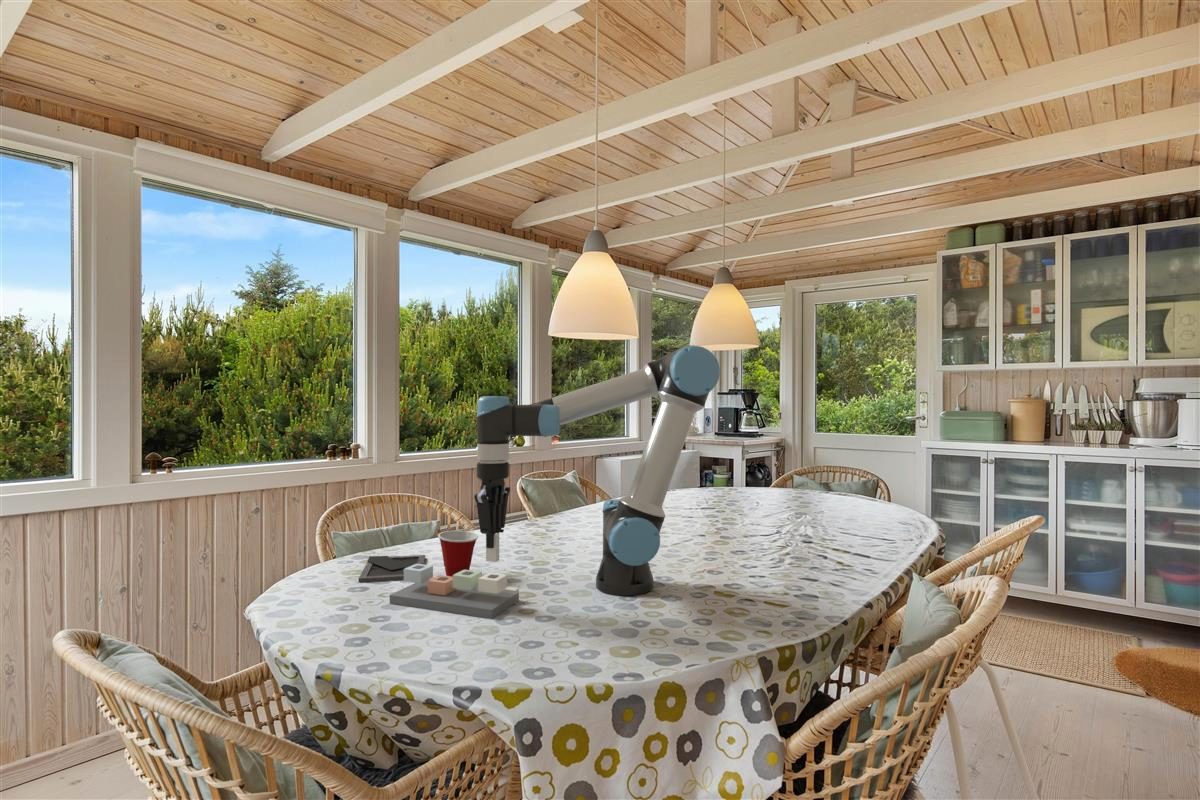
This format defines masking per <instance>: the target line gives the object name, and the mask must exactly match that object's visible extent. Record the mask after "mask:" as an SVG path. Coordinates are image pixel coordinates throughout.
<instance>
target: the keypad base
mask: <svg viewBox="0 0 1200 800" xmlns="http://www.w3.org/2000/svg"><path fill="white" fill-rule="evenodd" d="M435 577H436V576H435ZM435 577H434V576H433V578H435ZM433 578H431V579H433ZM429 580H430V579H429ZM519 598H520V588H519V587H512V586H507V588H505V589H504V590H502V591H501V592H499V593H497V594H495V593H488V592H480V591H478V586H477V587H476V588H474V589H472V590H465V589H458V588H457V590H455V591H453V592H451V593H449V594H447V595H446V596H445V595H437V594H430V593H428V580H427V581H425V582H423V583H414V582H413V583H412V584H410V585H408V586H406V587H403V588H402V589H398V590H397V591H395V592H393V593H391V594H389V604H391V603H393V605H398V604H399V605H400V606H404V605H406V606H405V607H411V606H413V607H412V608H418V607H420V608H419V609H424V608H425V609H426V610H431V609H432V610H431V611H437V610H438V611H439V612H444V613H452V614H458V615H464V616H470V617H471V616H473V617H479V618H484V619H485V618H486V619H491V620H492V619H494V618H496V617H497V616H498V615H500V614H501V613H503V612H504V611H506V610H507V609H508V608H510V607H511V606H512V605H514V604H516V603H517V602H518V600H520V599H519ZM515 602H516V603H515ZM502 611H503V612H502ZM499 613H500V614H499Z"/></svg>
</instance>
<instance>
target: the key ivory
mask: <svg viewBox="0 0 1200 800" xmlns="http://www.w3.org/2000/svg"><path fill="white" fill-rule="evenodd" d="M507 587H508V574H503V573H495V572H487V573H486V574H483V575H482V577H480V578H478V591H480V592H488V593H495V594H497V593H499V592H501V591H502V590H504V589H505V588H507Z"/></svg>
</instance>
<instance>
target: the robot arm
mask: <svg viewBox="0 0 1200 800" xmlns="http://www.w3.org/2000/svg"><path fill="white" fill-rule="evenodd" d="M720 367H721V366H720V363H719V361H718V359H717V357H716V356H715V354H714V353H713V352H711V351H710V350H709V349H708V348H705V347H703V346H699V345H692V344H691V345H686V346H683V347H680V348H677V349H675V350H673V351H671V352H669V353H668V354H666V355H664V356H662V357H660V358H657V359H655V360H653V361H649V362H647V363H645V364H644V366H643V368H641V369H638V370H635V371H630V372H629V373H625V374H622V375H619V376H615V377H613V378H609V379H607V380H602V381H600V382H598V383H594V384H591V385H588V386H585V387H581V388H578V389H574V390H572V391H569V392H566V393H563V394H560V395H557V396H553V397H551V398H547V399H544V400H541V401H538V402H534V403H531V404H513V403H511V402H510V398H509V397H508V396H501V395H500V396H499V395H497V396H496V395H491V396H490V395H483V396H480V397H479V398H478V399H477V408H476V409H477V411H476V413H477V414H476V443H477V445H476V460H477V461H478V462H477V463H476V477H477V478H478V479H480V480H481V484H480V492H479V493H475V494H474V496H473V498H474V501H475V503H476V510H477V515H478V516H477V517H478V525H479V531H480V533H481V534H483V535H485V561H486V562H491V563H493V562H494V563H497V562H499V561H500V533H504V531H505V529H504V528H506V527H505V526H506V518H507V517H506V516H507V512H508V511H507V509H508V501H509V495H510V492H511V488H510V487H509V486H505V485H506V482H505V479H507V478H509V476H510V463H509V462H508V460H510V437H544V438H546V437H554V436H555V437H556V436H558V435H559V434H560V426H563V425H567V424H570V423H573V422H577V421H579V420H581V419H585V418H588V417H591V416H595V415H598V414H600V413H604V412H606V411H609V410H614V409H617V408H619V407H622V406H625V405H628V404H631V403H635V402H638V401H641V400H644V399H647V398H650V397H653V398H654V399H660V404H659V407H658V409H657V412H656V415H655V418H654V421H653V424H652V426H651V429H650V431H649V435H648V438H647V441H646V443H645V446H644V449H643V452H642V455H641V458H640V460H639V463H638V465H637V469H636V471H635V474H634V477H633V480H632V483H631V486H630V488H629V491H628V494H626V495H624V496H621V498H619V499H618V498H617V499H606V500H605V501H604V502H603V506H602V509H601V511H602V515H603V516H602V517H603V518H602V520H603V521H602V559H601V561H600V565H599V568H598V570H597V573H596V577H595V587H596V589H597V590H598V591H600V592H602V593H604V594H609V595H614V596H615V595H616V596H637V595H638V594H639V595H644V594H646V592H647V593H649V592H651V591H652V590H653V589H654V577H653V573H652V570H651V569H652V568H651V567H650V563H649V562H650V561H652V560H653V559H654V557H656V555H657V554H658V551H659V549H660V546H661V535H660V533H661V530H662V527H663V524H664V521H665V518H666V514H665V511H664V509H663V505H664V501H665V498H666V496H667V494H668V490H669V487H670V484H671V482H672V479H673V477H674V473H675V471H676V468H677V465H678V462H679V459H680V457H681V453H682V451H683V449H684V448H683V447H684V445H685V442H686V439H687V436H688V433H689V431H690V429H691V426H692V423H693V420H694V417H695V414H696V413H697V412H699V411H701V410H703V409H704V408H705V405H706V402H707V399H708V397H709V394H710V392H712V391H713V389H715V387H716V386H717V384H718V382H719V379H720V375H721V368H720ZM650 590H651V591H650ZM648 591H649V592H648ZM643 593H644V594H643Z"/></svg>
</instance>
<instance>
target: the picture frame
mask: <svg viewBox="0 0 1200 800" xmlns="http://www.w3.org/2000/svg"><path fill="white" fill-rule="evenodd" d="M366 561H367V562H366V563H365V566H364V568H363V570H362V571H361V573H360V575H359V577H358V583H359V582H360V583H372V582H371V581H377V582H389V581H388V580H394V581H404V569H405V568H407V567H410V566H412V565H414V564H423V565H425V562H426V555H425V554H419V555H417V554H416V555H400V556H396V555H395V556H388V555H377V556H376V555H373V556H372V555H369V556H368V559H367V560H366ZM424 561H425V562H424Z"/></svg>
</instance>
